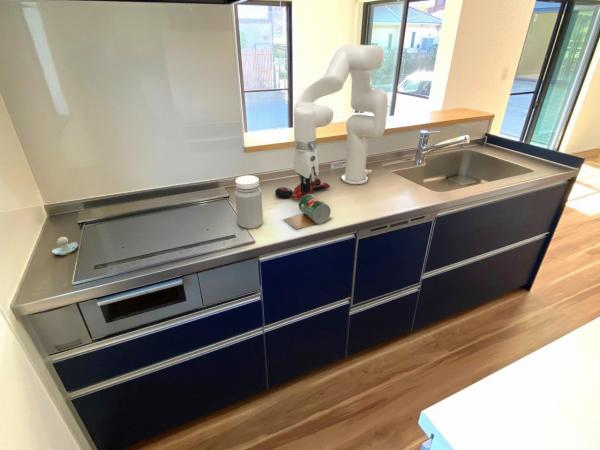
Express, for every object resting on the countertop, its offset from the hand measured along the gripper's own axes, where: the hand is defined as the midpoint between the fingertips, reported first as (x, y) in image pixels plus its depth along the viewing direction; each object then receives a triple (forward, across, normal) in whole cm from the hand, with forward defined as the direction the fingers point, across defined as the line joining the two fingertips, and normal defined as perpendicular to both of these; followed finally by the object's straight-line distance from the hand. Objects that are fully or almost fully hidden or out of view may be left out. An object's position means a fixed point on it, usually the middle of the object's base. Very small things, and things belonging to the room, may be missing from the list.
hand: (305, 191), depth 130 cm
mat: (+11, -2, +1) cm, 11 cm away
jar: (+11, +7, +21) cm, 24 cm away
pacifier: (+10, +23, +81) cm, 84 cm away
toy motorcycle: (+11, +19, -12) cm, 25 cm away
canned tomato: (+7, +3, -3) cm, 8 cm away
